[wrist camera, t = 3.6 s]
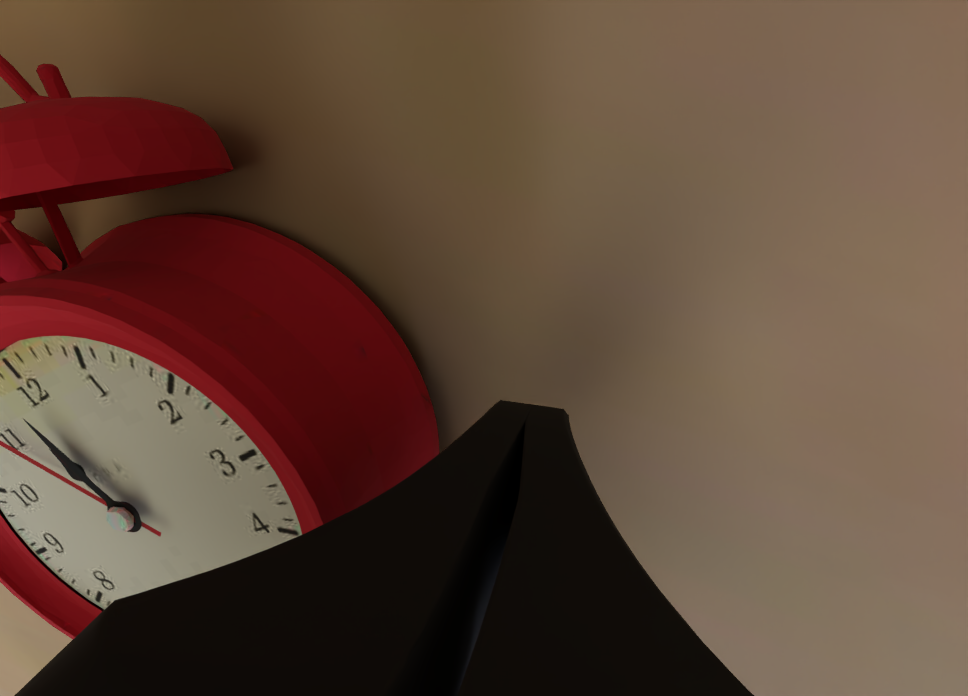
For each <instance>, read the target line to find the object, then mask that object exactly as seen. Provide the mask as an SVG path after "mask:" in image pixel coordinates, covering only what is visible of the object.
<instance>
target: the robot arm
mask: <svg viewBox="0 0 968 696" xmlns="http://www.w3.org/2000/svg"><path fill="white" fill-rule="evenodd" d="M15 696H754V695H753V694H752V693H751V692H749V691H748V690H747V689H746V687H745V686H744V685H743V684H742V683H741V682H740V681H739V680H738V679H737V678H736V677H735V676H734V675H733V674H732V673H731V672H730V671H729V670H728V669H727V668H726V666H725V665H724V664H723V663H722V662H721V661H720V660H719V659H718V658H717V657H716V656H715V655H714V654H713V653H712V651H711V650H710V649H709V648H708V647H707V646H706V645H705V644H704V643H703V642H702V641H701V639H700V638H699V637H698V636H697V635H696V633H695V632H694V631H693V630H692V629H691V627H690V626H689V625H688V624H687V623H686V621H685V620H684V619H683V618H682V617H681V615H680V614H679V613H678V612H677V611H676V609H675V608H674V607H673V606H672V605H671V603H670V602H669V601H668V600H667V599H666V597H665V596H664V595H663V594H662V593H661V591H660V590H659V589H658V587H657V586H656V585H655V583H654V582H653V581H652V579H651V578H650V577H649V575H648V574H647V572H646V571H645V570H644V568H643V567H642V566H641V564H640V563H639V561H638V560H637V559H636V557H635V556H634V554H633V553H632V551H631V550H630V548H629V547H628V545H627V544H626V542H625V541H624V539H623V538H622V536H621V535H620V533H619V531H618V530H617V528H616V526H615V525H614V523H613V521H612V520H611V518H610V516H609V515H608V513H607V511H606V509H605V507H604V505H603V504H602V502H601V500H600V498H599V496H598V494H597V492H596V490H595V488H594V486H593V484H592V482H591V480H590V478H589V476H588V473H587V471H586V469H585V467H584V464H583V462H582V460H581V458H580V455H579V452H578V450H577V447H576V444H575V441H574V438H573V435H572V432H571V428H570V423H569V415H568V414H567V413H566V412H565V410H564V409H559V408H552V407H545V406H538V405H531V404H524V403H517V402H510V401H503V400H500V401H499V402H497V403H496V404H495V405H494V406H493V407H492V408H491V409H489V410H488V411H487V412H486V413H485V414H484V415H483V416H482V417H481V418H480V419H479V420H478V421H477V422H476V423H475V424H474V425H473V426H471V427H470V428H469V429H468V430H467V431H466V432H465V433H464V434H462V435H461V436H460V437H459V438H458V439H456V440H455V441H454V442H453V443H452V444H451V445H449V446H448V447H447V448H446V449H445V450H443V451H442V452H441V453H440V454H438V455H437V456H436V457H434V458H433V459H432V460H430V461H429V462H428V463H426V464H425V465H424V466H422V467H421V468H420V469H418V470H417V471H415V472H414V473H413V474H411V475H410V476H409V477H407V478H406V479H404V480H403V481H401V482H400V483H398V484H397V485H395V486H394V487H392V488H390V489H389V490H387V491H386V492H384V493H382V494H380V495H379V496H377V497H375V498H374V499H372V500H370V501H369V502H367V503H365V504H363V505H361V506H359V507H358V508H356V509H354V510H352V511H349V512H347V513H345V514H343V515H341V516H339V517H337V518H335V519H333V520H331V521H329V522H327V523H325V524H323V525H321V526H319V527H317V528H315V529H313V530H311V531H309V532H307V533H305V534H302V535H300V536H298V537H295V538H293V539H291V540H288V541H286V542H283V543H281V544H279V545H276V546H274V547H272V548H269V549H267V550H264V551H261V552H259V553H256V554H254V555H251V556H248V557H246V558H243V559H241V560H238V561H235V562H233V563H230V564H227V565H224V566H221V567H219V568H216V569H213V570H210V571H207V572H204V573H201V574H197V575H194V576H191V577H188V578H185V579H182V580H179V581H175V582H172V583H169V584H166V585H163V586H160V587H157V588H153V589H150V590H147V591H144V592H141V593H138V594H134V595H131V596H127V597H124V598H120V599H117V600H114V601H113V602H112V603H111V604H110V605H109V606H108V607H107V608H106V609H105V610H103V611H102V612H101V613H100V614H99V615H98V616H97V617H96V618H95V619H94V620H93V621H92V622H91V623H90V624H89V625H88V626H87V627H86V628H85V629H83V630H82V631H81V632H80V633H79V634H78V635H77V636H76V637H75V638H74V639H73V640H72V641H71V642H70V643H69V644H68V645H67V646H66V647H65V648H64V649H63V650H62V651H61V652H60V653H58V654H57V655H56V656H55V657H54V658H53V659H52V660H51V661H50V662H49V663H48V664H47V665H46V666H45V667H44V668H43V669H42V670H41V671H40V672H39V673H38V674H37V675H36V676H35V677H34V678H32V679H31V680H30V681H29V682H28V683H27V684H26V685H25V686H24V687H23V688H22V689H21V690H20V691H19V692H18V693H17V694H16V695H15Z"/></svg>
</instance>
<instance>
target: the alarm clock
mask: <svg viewBox="0 0 968 696" xmlns="http://www.w3.org/2000/svg"><path fill="white" fill-rule="evenodd" d="M36 71H37V73H38V76H39V78H40V80H41V81H42V83H43V85H44V88H45V90H46V92H47V94H48V97H46V96H39V95H38V94H37V92H36V91H35V90H34V89H33V88H32V87H31V86H30V85H29V84H28V82H27V81H26V80H25V79H24V78H23V77H22V76H21V75H20V74H19V72H18V71H17V70H16V69H15V68H14V67H13V66H12V65H11V64H10V63H9V62H8V61H7V60H6V59H5V58H3V57H2V56H1V55H0V76H1V77H2V78H3V79H4V80H5V81H6V82H7V83H8V84H9V86H10V87H11V88H12V89H13V90H14V91H15V92H16V93H17V94H18V95H19V96H20V97H21V98H22V99H23V100H24V101H25V102H26V103H22V104H18V105H13V106H9V107H5V108H0V582H1V583H2V584H3V585H4V586H5V587H6V588H7V589H8V590H9V591H10V592H11V593H12V594H13V595H15V596H16V597H17V598H18V599H19V600H21V601H22V602H23V603H24V604H26V605H27V606H28V607H29V608H30V609H32V610H33V611H34V612H35V613H37V614H38V615H39V616H40V617H42V618H43V619H44V620H45V621H47V622H48V623H49V624H50V625H52V626H53V627H55V628H57V629H58V630H60V631H61V632H63V633H64V634H66V635H67V636H69V637H70V638H72V639H74V638H75V637H76V636H77V635H78V634H79V633H80V632H81V631H82V630H83V629H85V628H86V627H87V626H88V625H89V624H90V623H91V622H92V621H93V620H94V619H95V618H96V617H97V616H98V615H99V614H100V613H101V612H102V611H103V610H105V609H106V608H107V607H108V606H109V605H110V604H111V603H112V602H113V601H114V600H117V599H120V598H124V597H127V596H131V595H134V594H138V593H141V592H144V591H147V590H150V589H153V588H157V587H160V586H163V585H166V584H169V583H172V582H175V581H179V580H182V579H185V578H188V577H191V576H194V575H197V574H201V573H204V572H207V571H210V570H213V569H216V568H219V567H221V566H224V565H227V564H230V563H233V562H235V561H238V560H241V559H243V558H246V557H248V556H251V555H254V554H256V553H259V552H261V551H264V550H267V549H269V548H272V547H274V546H276V545H279V544H281V543H283V542H286V541H288V540H291V539H293V538H295V537H298V536H300V535H302V534H305V533H307V532H309V531H311V530H313V529H315V528H317V527H319V526H321V525H323V524H325V523H327V522H329V521H331V520H333V519H335V518H337V517H339V516H341V515H343V514H345V513H347V512H349V511H352V510H354V509H356V508H358V507H359V506H361V505H363V504H365V503H367V502H369V501H370V500H372V499H374V498H375V497H377V496H379V495H380V494H382V493H384V492H386V491H387V490H389V489H390V488H392V487H394V486H395V485H397V484H398V483H400V482H401V481H403V480H404V479H406V478H407V477H409V476H410V475H411V474H413V473H414V472H415V471H417V470H418V469H420V468H421V467H422V466H424V465H425V464H426V463H428V462H429V461H430V460H432V459H433V458H434V457H436V456H437V455H438V454H440V452H439V437H438V429H437V423H436V418H435V414H434V410H433V406H432V403H431V400H430V397H429V394H428V391H427V388H426V385H425V383H424V381H423V378H422V376H421V374H420V372H419V370H418V368H417V366H416V364H415V362H414V360H413V358H412V356H411V354H410V352H409V350H408V348H407V347H406V345H405V343H404V342H403V340H402V339H401V337H400V336H399V334H398V333H397V332H396V330H395V329H394V327H393V326H392V325H391V323H390V322H389V321H388V320H387V318H386V317H385V316H384V314H383V313H382V312H381V310H380V309H379V308H378V307H377V306H376V305H375V304H374V303H373V302H372V301H371V300H370V299H369V298H368V297H367V296H366V295H365V294H364V293H363V292H362V291H361V290H360V289H359V288H358V287H357V286H356V285H355V284H354V283H353V282H352V281H351V280H350V279H349V278H348V277H346V276H345V275H344V274H343V273H341V272H340V271H339V270H337V269H336V268H335V267H334V266H332V265H331V264H329V263H328V262H326V261H325V260H324V259H322V258H321V257H319V256H318V255H316V254H315V253H313V252H312V251H310V250H309V249H307V248H305V247H304V246H302V245H300V244H299V243H297V242H295V241H293V240H291V239H289V238H286V237H284V236H282V235H280V234H278V233H275V232H273V231H270V230H268V229H265V228H263V227H260V226H257V225H255V224H252V223H248V222H244V221H240V220H236V219H233V218H229V217H223V216H216V215H204V214H178V215H167V216H160V217H154V218H148V219H143V220H140V221H136V222H132V223H128V224H125V225H121V226H118V227H116V228H114V229H113V230H111V231H109V232H108V233H106V234H105V235H103V236H101V237H100V238H98V239H96V240H95V241H93V242H92V243H91V244H90V245H89V246H88V247H86V248H85V249H84V250H83V251H82V252H81V253H79V251H78V248H77V246H76V244H75V242H74V240H73V237H72V235H71V233H70V231H69V229H68V227H67V224H66V222H65V220H64V218H63V216H62V214H61V211H60V209H59V207H58V205H57V204H65V203H72V202H79V201H86V200H92V199H98V198H104V197H110V196H116V195H123V194H129V193H134V192H139V191H145V190H150V189H156V188H161V187H166V186H171V185H176V184H181V183H185V182H190V181H195V180H200V179H204V178H208V177H212V176H215V175H219V174H223V173H226V172H228V171H231V170H233V166H232V164H231V162H230V159H229V157H228V154H227V152H226V150H225V148H224V146H223V144H222V142H221V140H220V139H219V137H218V135H217V133H216V132H215V131H214V130H213V129H212V128H211V127H210V126H209V125H208V124H207V123H206V122H205V121H204V120H203V119H202V118H201V117H199V116H197V115H195V114H193V113H191V112H189V111H187V110H185V109H183V108H180V107H176V106H172V105H168V104H164V103H160V102H156V101H152V100H147V99H143V98H132V97H76V98H71V95H70V93H69V91H68V89H67V87H66V85H65V83H64V81H63V78H62V76H61V74H60V71H59V69H58V67H56V66H54V65H52V64H41V65H39V66H38V68H37V70H36ZM36 207H42V208H43V210H44V212H45V214H46V217H47V219H48V221H49V223H50V225H51V228H52V230H53V232H54V234H55V237H56V239H57V241H58V243H59V246H60V248H61V250H62V252H63V255H64V257H65V259H66V261H67V264H68V267H67V268H66V269H65V270H63V271H62V261H61V260H60V259H59V258H58V257H57V256H56V255H55V254H54V253H53V252H52V251H51V250H50V249H49V248H48V247H47V246H45V245H44V244H43V243H42V242H40V241H39V240H37V239H35V238H33V237H31V236H29V235H28V234H26V233H24V232H22V231H20V230H18V229H16V228H15V227H14V225H13V224H12V223H11V221H12V220H13V219H14V218H15V211H14V210H20V209H28V208H36Z"/></svg>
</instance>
